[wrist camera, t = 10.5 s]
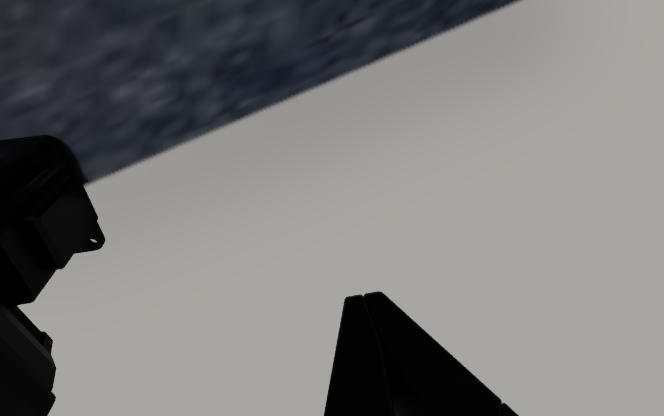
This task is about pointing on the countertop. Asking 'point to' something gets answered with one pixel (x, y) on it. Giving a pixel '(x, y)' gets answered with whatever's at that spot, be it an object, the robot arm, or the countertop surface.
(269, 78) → the countertop surface
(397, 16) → the countertop surface
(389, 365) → the robot arm
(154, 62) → the countertop surface
